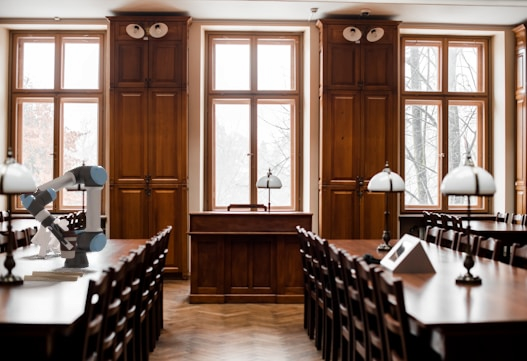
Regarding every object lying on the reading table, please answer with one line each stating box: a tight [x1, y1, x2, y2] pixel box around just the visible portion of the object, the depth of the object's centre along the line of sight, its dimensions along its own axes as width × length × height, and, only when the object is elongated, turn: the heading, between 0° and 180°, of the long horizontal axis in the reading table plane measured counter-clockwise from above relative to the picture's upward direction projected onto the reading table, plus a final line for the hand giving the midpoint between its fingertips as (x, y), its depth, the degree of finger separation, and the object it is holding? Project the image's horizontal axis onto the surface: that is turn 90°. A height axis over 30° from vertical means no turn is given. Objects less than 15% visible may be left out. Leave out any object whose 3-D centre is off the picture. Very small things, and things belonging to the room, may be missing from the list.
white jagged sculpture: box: [30, 218, 70, 259], centre depth 417 cm, size 35×30×35 cm
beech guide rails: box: [23, 270, 84, 282], centre depth 319 cm, size 16×28×2 cm, turn 96°
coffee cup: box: [60, 230, 78, 259], centre depth 320 cm, size 10×10×15 cm
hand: (73, 247), depth 320 cm, fingers closed on coffee cup, 10 cm apart
